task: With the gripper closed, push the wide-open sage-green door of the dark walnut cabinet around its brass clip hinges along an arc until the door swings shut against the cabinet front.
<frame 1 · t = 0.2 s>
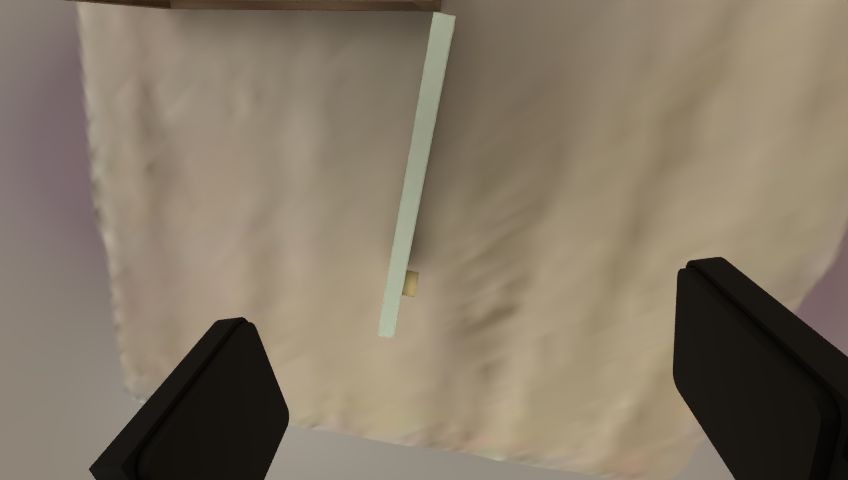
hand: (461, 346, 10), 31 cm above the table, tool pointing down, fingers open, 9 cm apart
cabinet door: (422, 177, 34), point 6 cm above the table, hinge at 80.0°
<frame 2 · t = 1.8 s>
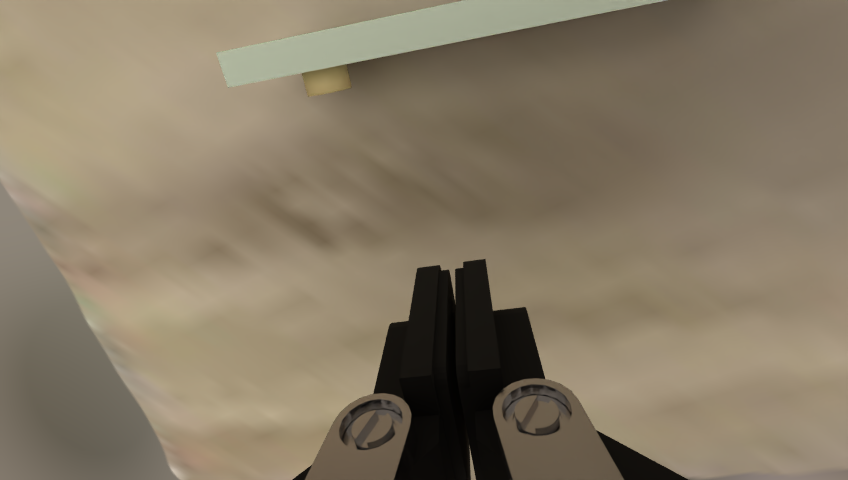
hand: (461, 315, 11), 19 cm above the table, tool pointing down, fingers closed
cabinet door: (513, 26, 20), point 6 cm above the table, hinge at 80.0°
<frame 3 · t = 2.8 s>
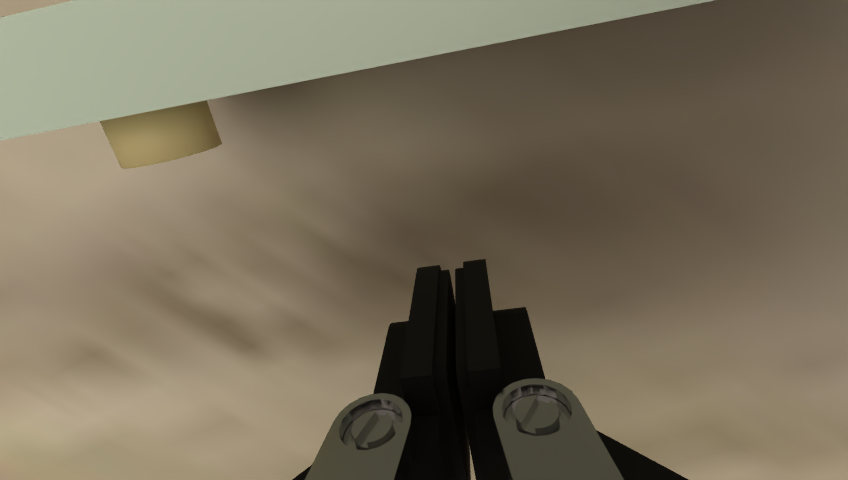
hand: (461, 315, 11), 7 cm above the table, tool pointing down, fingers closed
cabinet door: (559, 18, 9), point 6 cm above the table, hinge at 80.0°
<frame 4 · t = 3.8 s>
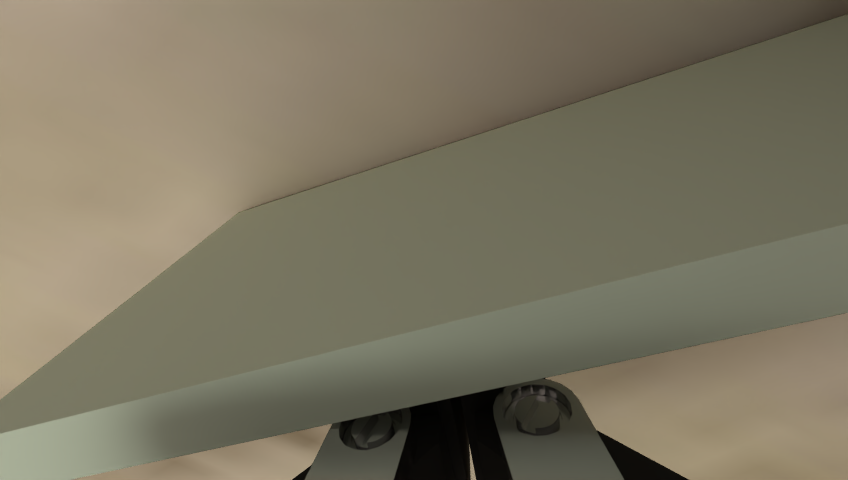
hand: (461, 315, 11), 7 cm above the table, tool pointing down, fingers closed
cabinet door: (551, 203, 11), point 6 cm above the table, hinge at 79.6°, touching gripper
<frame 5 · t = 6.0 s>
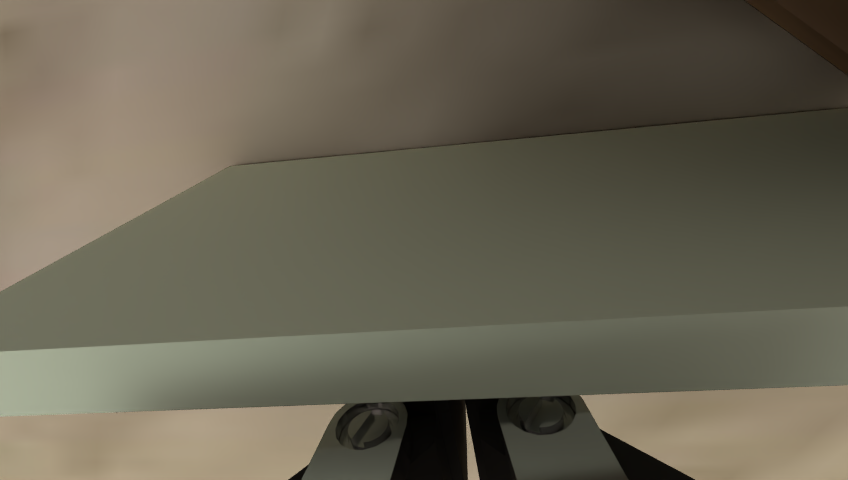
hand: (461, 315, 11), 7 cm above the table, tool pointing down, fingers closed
cabinet door: (559, 225, 11), point 6 cm above the table, hinge at 35.6°, touching gripper
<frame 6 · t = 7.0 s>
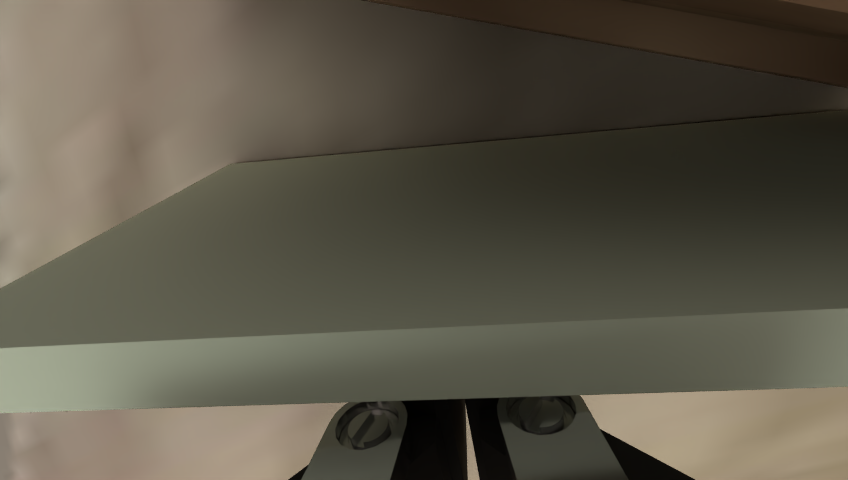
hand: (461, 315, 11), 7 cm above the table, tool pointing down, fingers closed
cabinet door: (561, 225, 11), point 6 cm above the table, hinge at 15.1°, touching gripper
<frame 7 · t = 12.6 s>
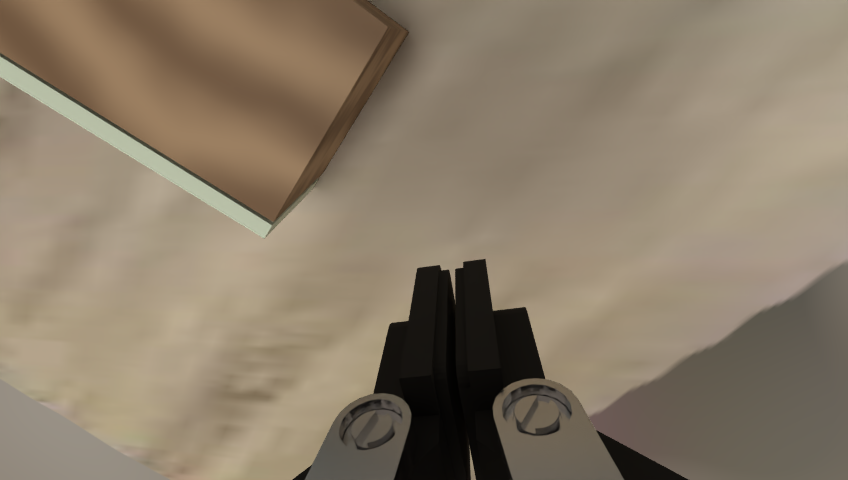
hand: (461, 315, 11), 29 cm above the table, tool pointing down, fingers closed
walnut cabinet: (246, 25, 35), on the table
cabinet door: (163, 127, 33), point 6 cm above the table, hinge at -0.1°
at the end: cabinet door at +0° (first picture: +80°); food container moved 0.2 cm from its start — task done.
